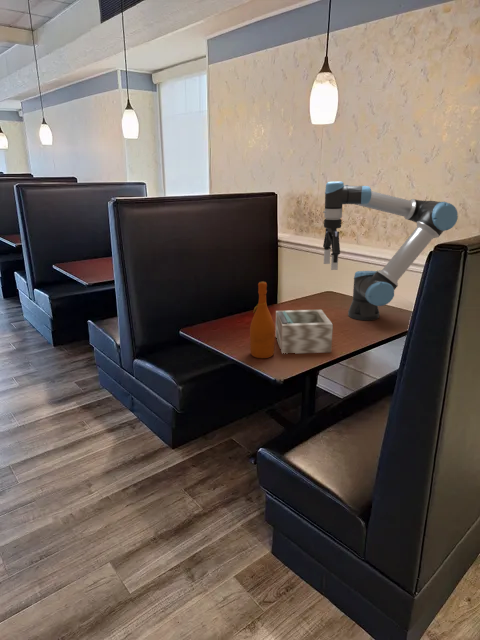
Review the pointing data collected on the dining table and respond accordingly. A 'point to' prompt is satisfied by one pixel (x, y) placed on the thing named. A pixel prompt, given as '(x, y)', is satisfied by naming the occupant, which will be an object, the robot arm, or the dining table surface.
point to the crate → (304, 332)
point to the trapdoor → (287, 318)
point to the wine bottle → (262, 327)
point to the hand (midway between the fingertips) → (330, 266)
